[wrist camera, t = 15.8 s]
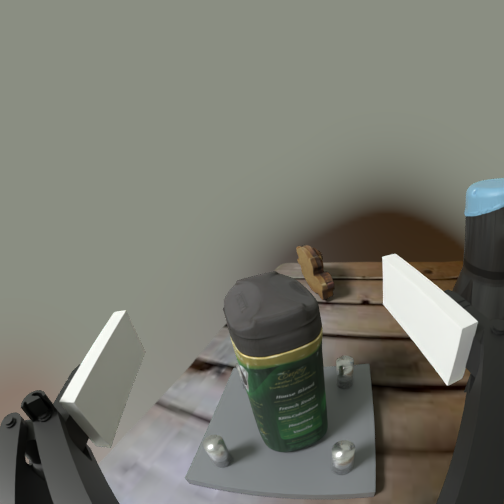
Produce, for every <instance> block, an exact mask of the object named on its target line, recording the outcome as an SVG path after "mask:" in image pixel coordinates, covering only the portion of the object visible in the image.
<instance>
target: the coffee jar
mask: <svg viewBox="0 0 504 504" xmlns="http://www.w3.org/2000/svg"><path fill="white" fill-rule="evenodd" d="M223 311H224V314H225V318H226V321H227V325H228V330H229V333H230V336H231V340H232V343H233V347H234V350H235V354H236V357H237V361H238V364H239V368H240V371H241V375H242V378H243V382H244V385H245V388H246V391H247V394H248V398H249V401H250V404H251V408H252V411H253V415H254V418H255V421H256V424H257V427H258V430H259V432H260V435H261V437H262V439H263V441H264V443H265V444H266V445H267V446H268V447H269V448H270V449H272V450H274V451H277V452H291V451H296V450H299V449H303V448H305V447H308V446H310V445H312V444H314V443H316V442H318V441H319V440H320V439H322V438H323V436H324V435H325V434H326V432H327V428H328V419H327V405H326V394H325V381H324V367H323V356H322V323H321V317H320V312H319V306H318V302H317V301H316V299H315V298H314V296H313V295H312V294H311V293H310V292H309V291H308V290H307V289H306V288H305V287H304V286H303V285H302V284H301V283H300V282H298V281H297V280H295V279H293V278H291V277H288V276H285V275H282V274H279V273H277V272H275V271H273V272H268V273H264V274H260V275H256V276H252V277H248V278H244V279H241V280H238V281H237V282H236V284H235V285H234V286H233V287H232V288H231V289H230V291H229V292H228V294H227V295H226V297H225V300H224V308H223Z"/></svg>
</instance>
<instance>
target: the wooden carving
mask: <svg viewBox="0 0 504 504" xmlns="http://www.w3.org/2000/svg"><path fill="white" fill-rule="evenodd" d="M297 253H298V256H299V259H298V263H299V264H300V265H301V268H302V270H301V271H302V273H303V275H304V277H305V279H306V281H307V283H308V284H309V286H310V288H311V289H312V290H313V291H314V292H315V293H318V294H319V296H320V297H321V299H322V300H325V299H327V298H328V297H331V296H333V289H334V282H333V279H332V277H331V275H330V274H329V273H328V272H324V271H323V261H322V259H323V257H322V254H321V252H320V251H317V249H315V248H312V247H310V246H309V245H302V246H298V247H297Z"/></svg>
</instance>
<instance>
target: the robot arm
mask: <svg viewBox="0 0 504 504" xmlns="http://www.w3.org/2000/svg"><path fill="white" fill-rule="evenodd" d="M465 216H466V230H465V231H466V233H465V250H464V263H463V268H462V270H461V272H460V275H459V277H458V279H457V282H456V284H455V286H454V288H453V291H450V290H446V291H442V290H441V289H440V288H439V287H437V286H436V285H435V284H434V283H432V282H431V281H430V280H429V279H427V278H426V277H425V276H424V275H422V274H421V273H420V272H419V271H417V270H416V269H415V268H413V267H412V266H411V265H410V264H408V263H407V262H406V261H404V260H403V259H402V258H400V257H399V256H398V255H396V254H392V255H388V256H384V257H382V259H383V305H384V306H385V307H386V308H387V309H388V311H389V312H390V313H391V314H392V315H393V317H394V318H395V319H396V320H397V321H398V323H399V324H400V325H401V326H402V328H403V329H404V330H405V331H406V333H407V334H408V335H409V336H410V338H411V339H412V340H413V341H414V343H415V344H416V345H417V346H418V348H419V349H420V350H421V352H422V353H423V354H424V355H425V357H426V358H427V359H428V361H429V362H430V363H431V365H432V366H433V367H434V369H435V370H436V371H437V373H438V374H439V375H440V377H441V378H442V379H443V381H444V382H445V383H446V385H447V386H448V385H450V384H452V383H454V382H456V381H458V380H460V379H462V378H463V375H464V372H465V368H467V369H468V370H469V371H470V373H471V374H470V377H469V380H468V383H467V385H466V388H465V391H464V392H467V394H466V400H465V406H464V411H463V416H462V421H461V426H460V430H459V434H458V438H457V442H456V446H455V450H454V453H453V457H452V460H451V464H450V467H449V470H448V473H447V476H446V479H445V482H444V485H443V488H442V490H441V493H440V496H439V498H438V501H437V503H436V504H503V502H504V178H498V179H490V180H483V181H479V182H476V183H474V184H472V185H471V186H470V187H469V188H468V190H467V192H466V209H465ZM144 355H145V350H144V348H143V346H142V343H141V342H140V340H139V337H138V335H137V333H136V331H135V329H134V326H133V324H132V322H131V320H130V317H129V315H128V313H127V311H126V310H124V311H118V312H114V314H113V315H112V316H111V318H110V320H109V321H108V322H107V324H106V325H105V327H104V328H103V330H102V331H101V333H100V335H99V336H98V338H97V339H96V341H95V342H94V344H93V346H92V347H91V349H90V350H89V352H88V354H87V355H86V357H85V359H84V361H83V362H82V363H81V364H80V365H79V366H78V367H76V368H75V369H74V370H73V371H72V373H71V375H70V376H69V378H68V380H67V381H66V383H65V384H64V387H63V388H62V390H61V391H60V394H59V395H58V397H57V398H56V400H55V402H54V403H53V404H52V402H51V401H50V400H49V398H48V397H47V396H46V394H45V393H44V392H43V391H41V390H39V391H38V390H37V391H34V392H32V393H30V394H28V395H27V396H26V397H25V398H24V400H23V401H22V403H21V408H22V409H23V411H24V412H25V413H26V414H27V416H28V417H29V418H30V419H31V420H24V419H23V418H22V417H21V416H20V414H18V413H11V414H9V415H7V416H6V417H5V418H4V419H3V421H2V423H1V426H0V504H119V502H118V501H117V499H116V497H115V496H114V494H113V492H112V490H111V488H110V487H109V485H108V483H107V481H106V479H105V477H104V475H103V473H102V472H101V470H100V468H99V466H98V464H97V461H96V459H95V457H94V455H93V453H92V451H91V449H90V448H89V446H88V445H87V441H88V439H90V440H91V441H92V442H93V443H94V444H95V445H96V446H99V447H110V448H111V446H112V443H113V440H114V437H115V434H116V431H117V428H118V425H119V422H120V419H121V417H122V413H123V411H124V408H125V405H126V402H127V400H128V397H129V394H130V392H131V389H132V386H133V383H134V381H135V378H136V376H137V373H138V370H139V368H140V365H141V362H142V360H143V357H144ZM25 456H26V457H27V458H28V459H29V464H27V463H26V460H25Z"/></svg>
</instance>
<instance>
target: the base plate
mask: <svg viewBox="0 0 504 504" xmlns="http://www.w3.org/2000/svg"><path fill="white" fill-rule="evenodd" d="M236 366H237V368H234V369H233V371H232V373H231V376H230V378H229V380H228V383H227V385H226V387H225V390H224V392H223V394H222V396H221V399H220V401H219V403H218V406H217V408H216V410H215V413H214V415H213V417H212V419H211V422H210V424H209V426H208V428H207V431H206V433H205V435H204V437H203V440H202V442H201V444H200V446H199V448H198V451H197V453H196V455H195V457H194V459H193V462H192V464H191V466H190V468H189V470H188V472H187V475H186V477H185V479H186V480H187V481H188V482H189V483H190V484H194V485H198V486H203V487H207V488H212V489H217V490H223V491H228V492H234V493H241V494H248V495H256V496H265V497H276V498H291V499H350V498H364V497H374V494H375V483H376V462H375V429H374V412H373V398H372V386H371V376H370V366H369V364H359V365H354V360H353V358H352V357H350V356H341V357H339V358H338V359H337V361H336V366H332V367H324V381H325V394H326V405H327V419H328V428H327V432H326V434H325V435H324V436H323V438H322V439H320V440H319V441H318V442H316V443H314V444H312V445H310V446H308V447H305V448H303V449H299V450H296V451H291V452H277V451H274V450H272V449H270V448H269V447H268V446H267V445H266V444H265V443H264V441H263V439H262V437H261V435H260V432H259V430H258V427H257V424H256V421H255V418H254V415H253V411H252V408H251V404H250V401H249V398H248V394H247V391H246V388H245V385H244V382H243V378H242V375H241V371H240V368H239V364H238V363H237V365H236Z"/></svg>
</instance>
